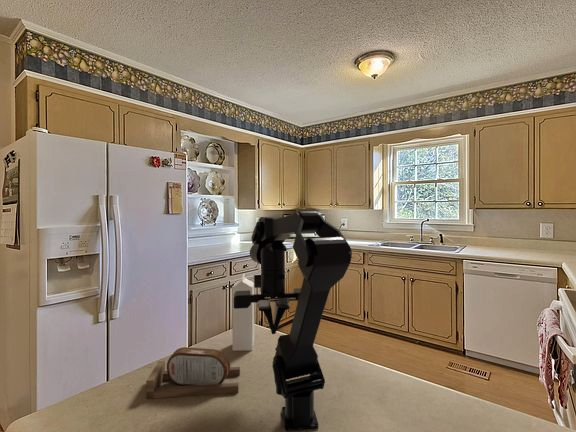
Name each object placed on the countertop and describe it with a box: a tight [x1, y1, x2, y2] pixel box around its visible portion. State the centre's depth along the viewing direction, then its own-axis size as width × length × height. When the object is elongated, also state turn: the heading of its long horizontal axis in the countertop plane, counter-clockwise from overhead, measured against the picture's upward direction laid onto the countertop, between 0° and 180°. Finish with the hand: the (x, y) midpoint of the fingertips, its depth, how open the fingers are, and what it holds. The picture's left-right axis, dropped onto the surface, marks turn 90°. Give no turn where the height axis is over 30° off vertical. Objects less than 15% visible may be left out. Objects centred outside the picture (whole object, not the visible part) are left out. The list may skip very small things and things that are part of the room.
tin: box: [166, 346, 231, 386], centre depth 74 cm, size 15×3×8 cm, turn 83°
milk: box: [231, 272, 255, 352], centre depth 95 cm, size 6×6×22 cm
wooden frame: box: [145, 360, 241, 400], centre depth 74 cm, size 9×20×4 cm, turn 96°
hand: (273, 333), depth 75 cm, fingers closed
